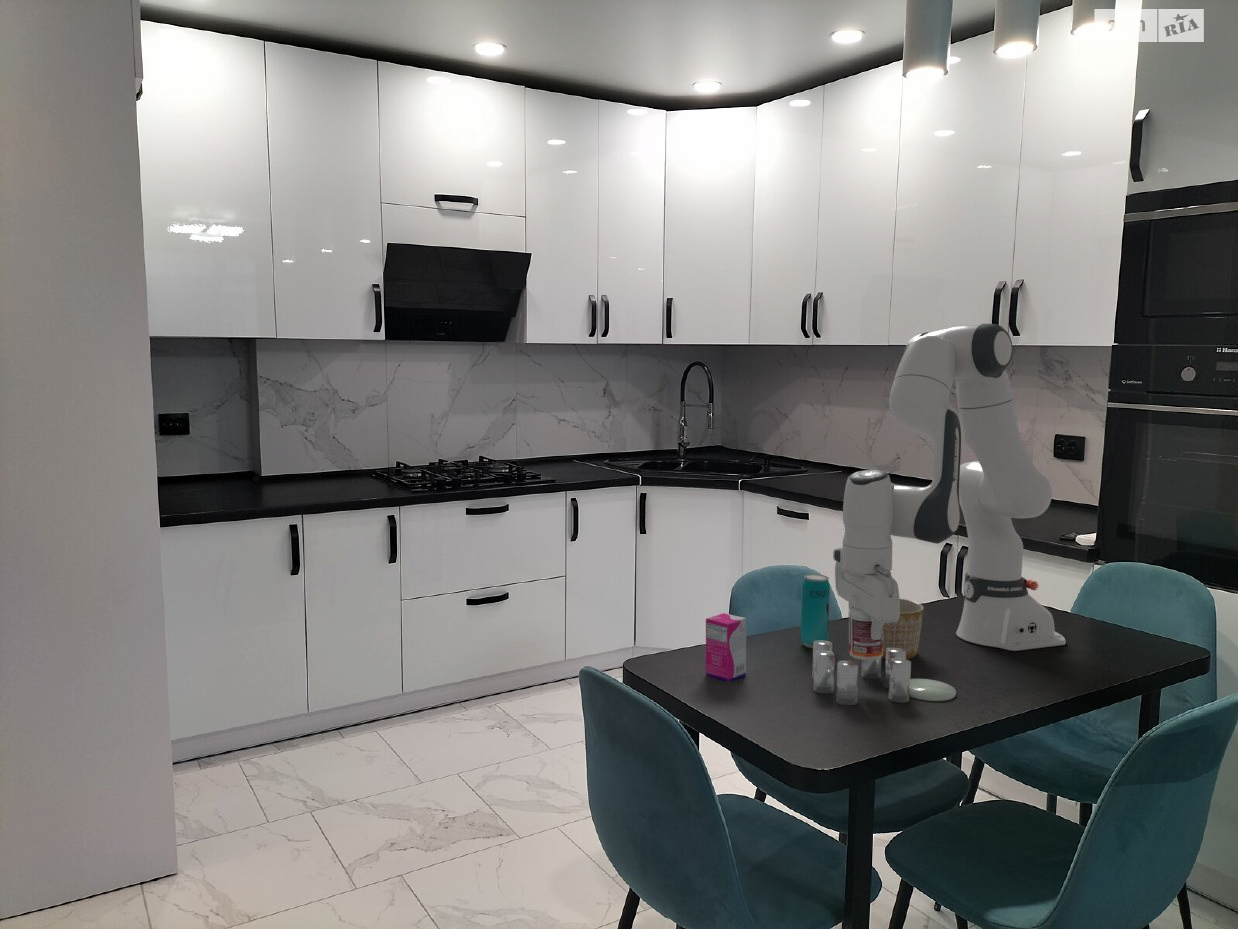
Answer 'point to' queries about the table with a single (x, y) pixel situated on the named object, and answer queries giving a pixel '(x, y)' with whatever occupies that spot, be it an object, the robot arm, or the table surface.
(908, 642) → the planter
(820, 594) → the beverage can
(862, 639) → the pill bottle
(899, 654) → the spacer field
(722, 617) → the supplement box
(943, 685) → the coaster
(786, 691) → the table surface
